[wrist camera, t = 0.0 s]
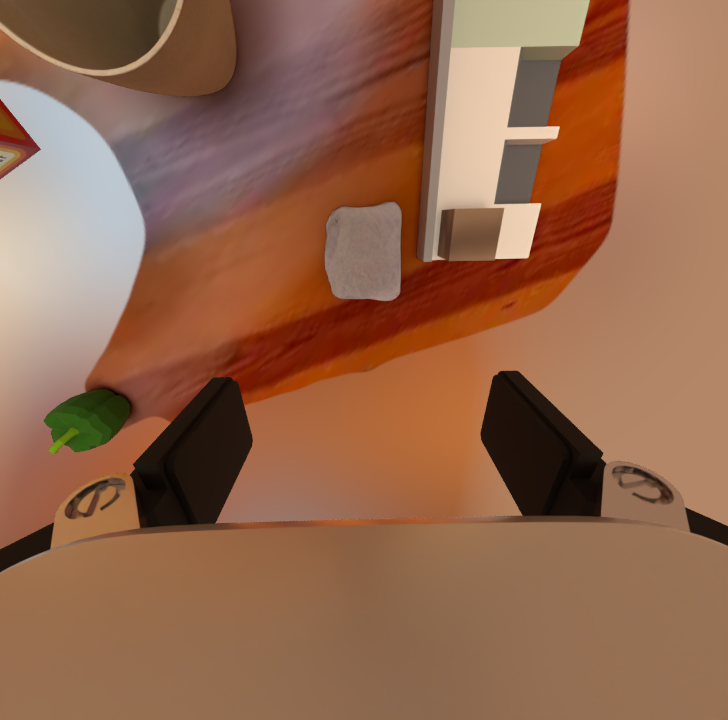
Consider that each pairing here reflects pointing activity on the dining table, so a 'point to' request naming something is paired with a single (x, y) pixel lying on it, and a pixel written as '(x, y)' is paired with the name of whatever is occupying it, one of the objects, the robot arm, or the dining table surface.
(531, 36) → the box
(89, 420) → the bell pepper
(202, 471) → the robot arm
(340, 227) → the stone block
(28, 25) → the plant pot
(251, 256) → the dining table surface
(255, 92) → the dining table surface
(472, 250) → the walnut cube
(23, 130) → the baking soda box
